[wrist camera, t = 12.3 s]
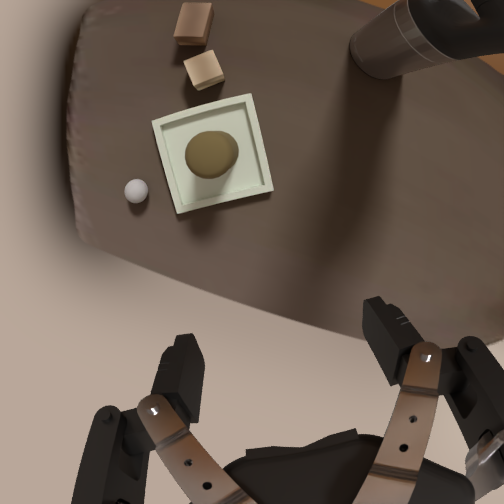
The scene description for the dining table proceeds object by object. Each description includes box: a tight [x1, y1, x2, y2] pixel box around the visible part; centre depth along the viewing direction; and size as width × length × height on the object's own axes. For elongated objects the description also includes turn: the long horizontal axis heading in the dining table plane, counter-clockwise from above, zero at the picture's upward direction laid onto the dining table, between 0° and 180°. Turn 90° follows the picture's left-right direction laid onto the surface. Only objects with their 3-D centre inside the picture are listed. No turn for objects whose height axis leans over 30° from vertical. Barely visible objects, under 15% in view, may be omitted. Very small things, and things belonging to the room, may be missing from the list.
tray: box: [152, 93, 274, 214], centre depth 36 cm, size 14×14×2 cm
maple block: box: [183, 50, 225, 91], centre depth 30 cm, size 4×4×4 cm
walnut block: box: [174, 3, 214, 46], centre depth 27 cm, size 4×6×4 cm, turn 171°
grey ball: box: [125, 179, 148, 203], centre depth 36 cm, size 4×4×4 cm
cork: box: [185, 131, 239, 179], centre depth 31 cm, size 6×6×11 cm
